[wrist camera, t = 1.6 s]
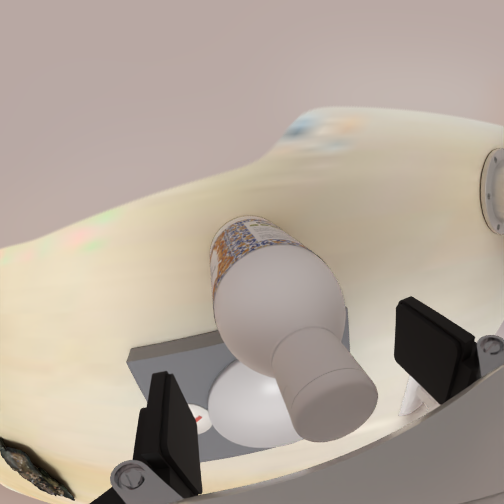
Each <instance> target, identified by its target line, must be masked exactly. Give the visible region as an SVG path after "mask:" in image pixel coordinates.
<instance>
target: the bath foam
mask: <svg viewBox="0 0 504 504" xmlns="http://www.w3.org/2000/svg"><path fill="white" fill-rule="evenodd" d="M210 270H211V284H212V297H213V310H214V318H215V322H216V325H217V328H218V330H219V333H220V335H221V337H222V339H223V341H224V343H225V345H226V346H227V348H228V349H229V350H230V352H231V353H232V354H233V355H234V356H235V357H236V358H237V359H238V360H239V361H240V362H241V363H243V364H244V365H245V366H247V367H248V368H250V369H252V370H253V371H255V372H258V373H260V374H262V375H265V376H268V377H271V378H275V379H276V382H277V385H278V387H279V390H280V393H281V395H282V398H283V400H284V403H285V405H286V408H287V410H288V413H289V416H290V418H291V422H292V425H293V427H294V429H295V431H296V432H297V434H298V435H299V436H300V437H302V438H303V439H305V440H308V441H312V442H328V441H332V440H336V439H339V438H342V437H344V436H346V435H348V434H350V433H351V432H353V431H355V430H356V429H357V428H359V427H360V426H361V425H362V424H363V423H365V422H366V420H367V419H368V418H369V417H370V416H371V414H372V413H373V411H374V409H375V407H376V404H377V400H378V392H377V389H376V386H375V384H374V383H373V381H372V380H371V379H370V378H369V376H368V375H367V374H366V372H365V371H364V370H363V369H362V367H361V366H360V365H359V364H358V362H357V361H356V360H355V359H354V357H353V356H352V355H351V354H350V352H349V351H348V350H347V349H346V347H345V346H344V345H343V344H342V343H341V340H342V337H343V333H344V328H345V319H346V311H345V301H344V297H343V293H342V290H341V288H340V285H339V283H338V281H337V279H336V277H335V276H334V274H333V272H332V271H331V270H330V268H329V267H328V266H327V265H326V263H325V262H324V261H323V260H322V259H321V258H320V257H319V256H317V255H316V254H315V253H313V252H312V251H311V250H309V249H308V248H307V247H305V246H304V245H302V244H301V243H300V242H298V241H297V240H296V239H294V238H293V237H291V236H290V235H289V234H287V233H286V232H284V231H283V230H282V229H280V228H279V227H277V226H276V225H274V224H273V223H271V222H270V221H268V220H266V219H264V218H261V217H257V216H243V217H238V218H235V219H233V220H231V221H229V222H228V223H226V224H225V225H224V226H223V227H221V228H220V230H219V231H218V232H217V233H216V235H215V237H214V239H213V241H212V244H211V248H210Z"/></svg>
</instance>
